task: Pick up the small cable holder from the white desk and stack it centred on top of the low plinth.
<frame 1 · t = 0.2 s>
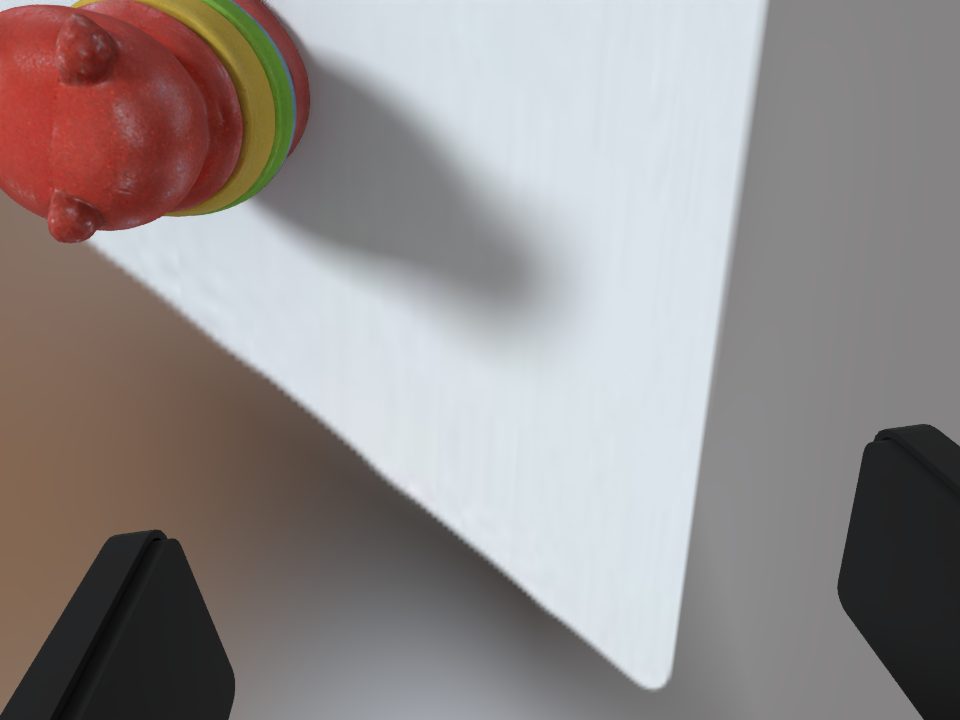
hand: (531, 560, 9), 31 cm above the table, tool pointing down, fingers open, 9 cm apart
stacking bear: (216, 85, 34), on the table
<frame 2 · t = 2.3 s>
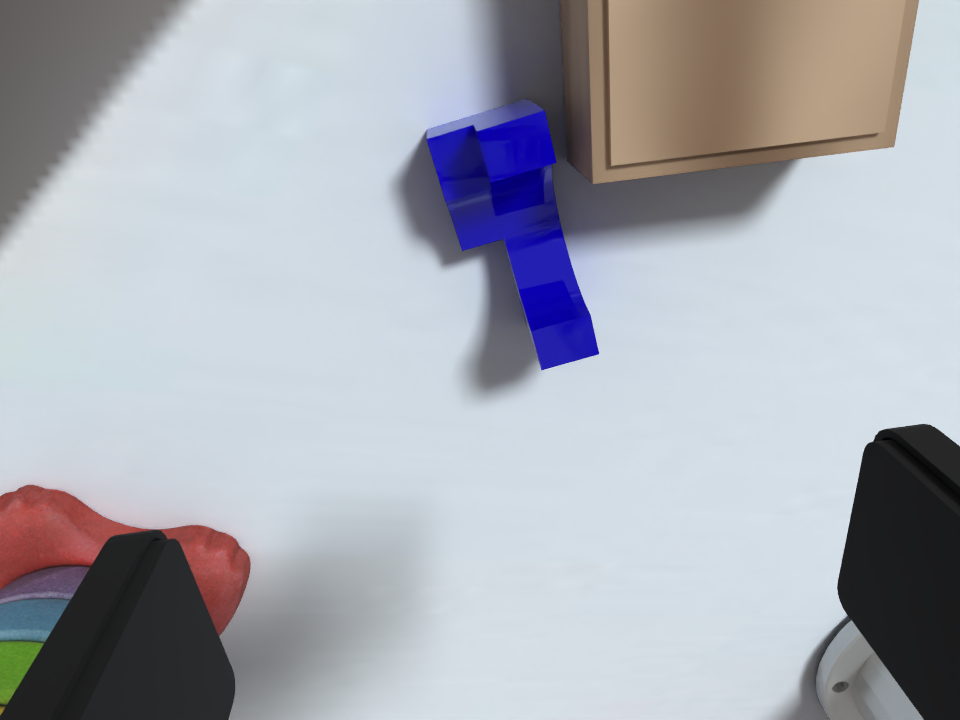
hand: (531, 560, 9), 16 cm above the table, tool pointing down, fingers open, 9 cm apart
cable holder: (505, 223, 24), on the table
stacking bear: (118, 585, 30), on the table
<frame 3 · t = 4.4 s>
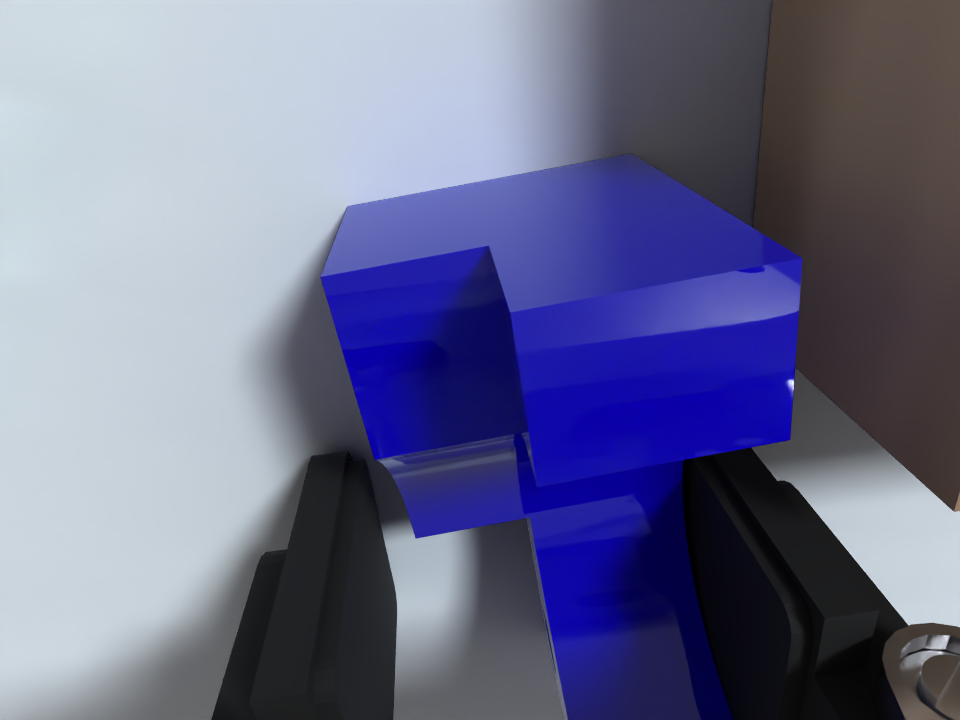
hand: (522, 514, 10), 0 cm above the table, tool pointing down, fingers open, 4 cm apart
cable holder: (529, 439, 10), on the table
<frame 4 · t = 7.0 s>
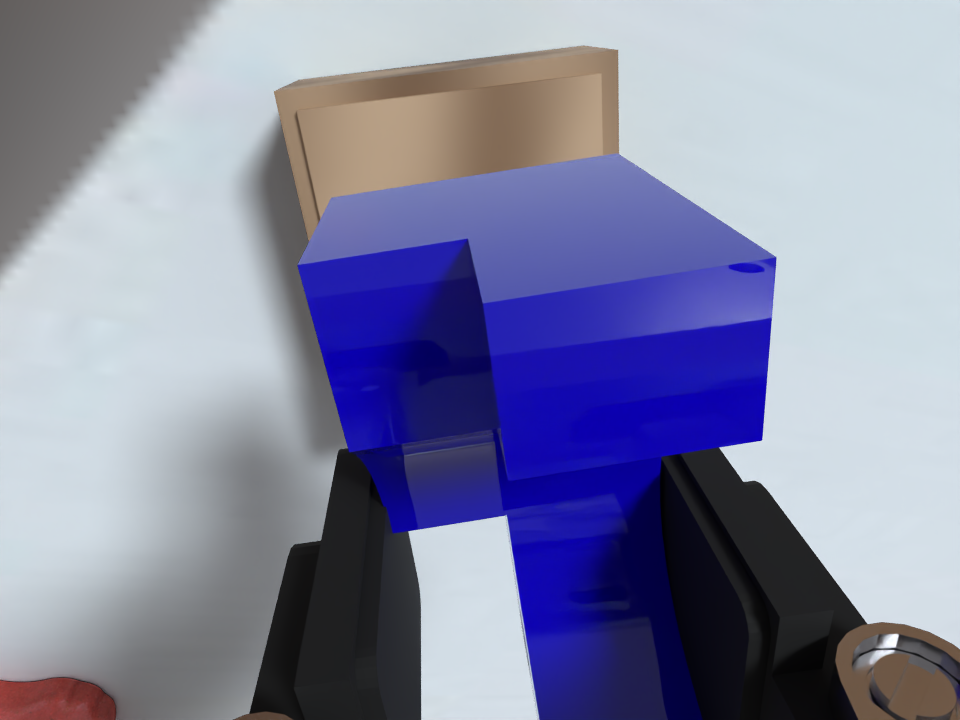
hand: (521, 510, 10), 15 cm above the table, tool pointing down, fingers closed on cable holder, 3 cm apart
cable holder: (509, 438, 10), point 14 cm above the table, touching gripper
plinth: (462, 233, 23), on the table
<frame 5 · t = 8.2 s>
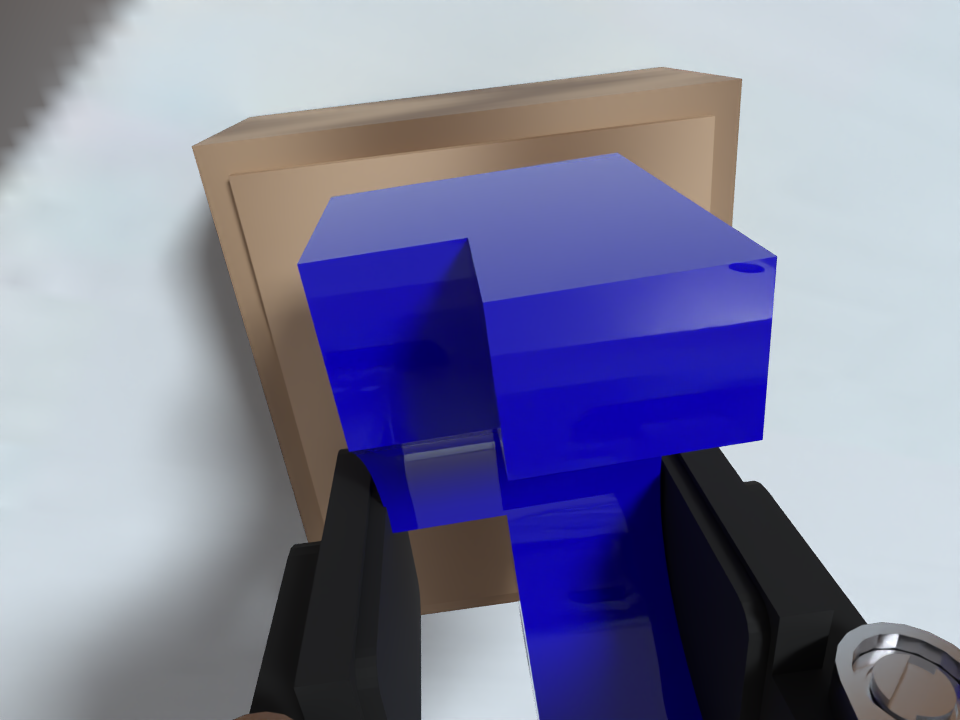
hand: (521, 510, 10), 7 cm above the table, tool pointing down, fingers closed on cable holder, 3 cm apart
cable holder: (509, 437, 10), point 7 cm above the table, touching gripper
plinth: (483, 323, 17), on the table
when the fingers open (5 cm above the table, at t = 9.3 s): cable holder stays where it is, resting on plinth.
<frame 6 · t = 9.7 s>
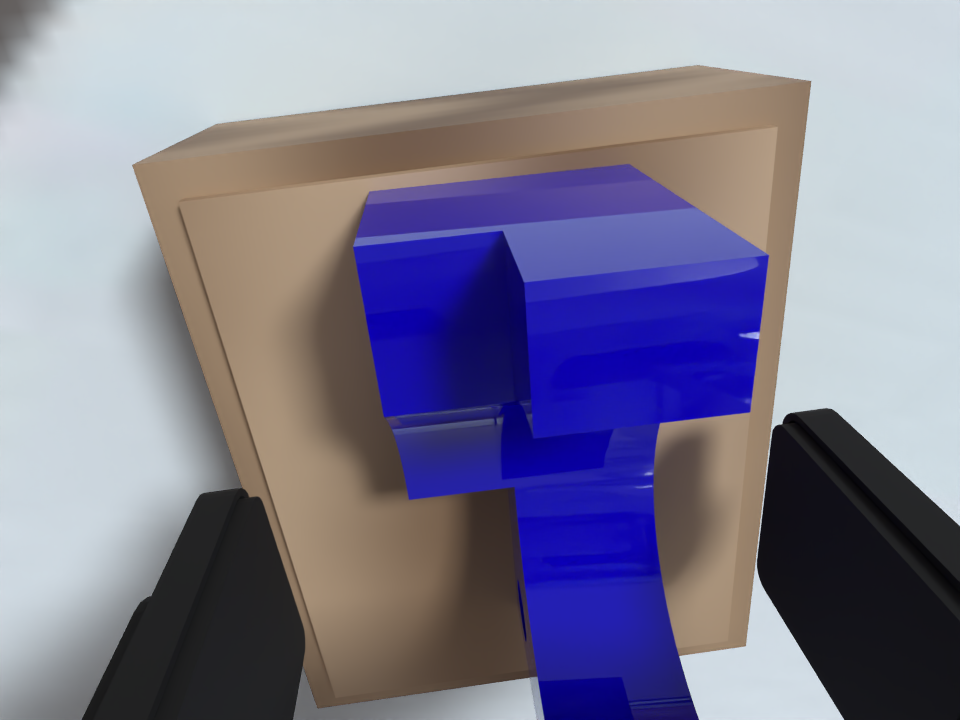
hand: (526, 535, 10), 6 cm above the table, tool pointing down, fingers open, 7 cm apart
cable holder: (516, 420, 11), point 4 cm above the table, touching plinth
plinth: (488, 356, 15), on the table
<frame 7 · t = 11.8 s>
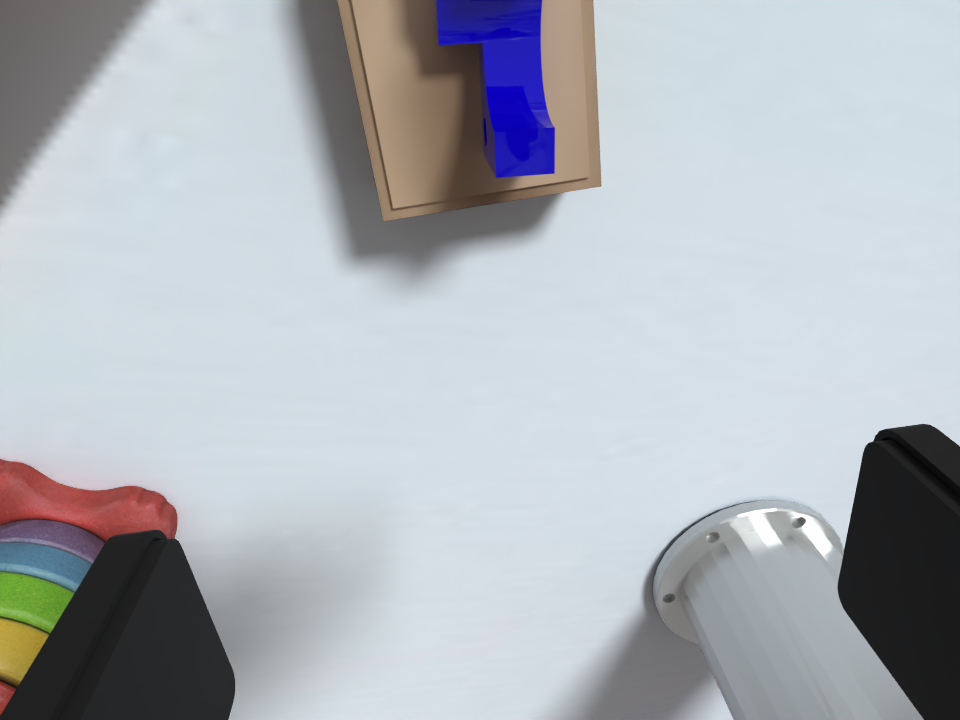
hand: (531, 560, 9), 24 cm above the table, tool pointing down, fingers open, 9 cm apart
cable holder: (484, 40, 24), point 4 cm above the table, touching plinth
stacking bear: (73, 537, 38), on the table
plinth: (465, 50, 28), on the table
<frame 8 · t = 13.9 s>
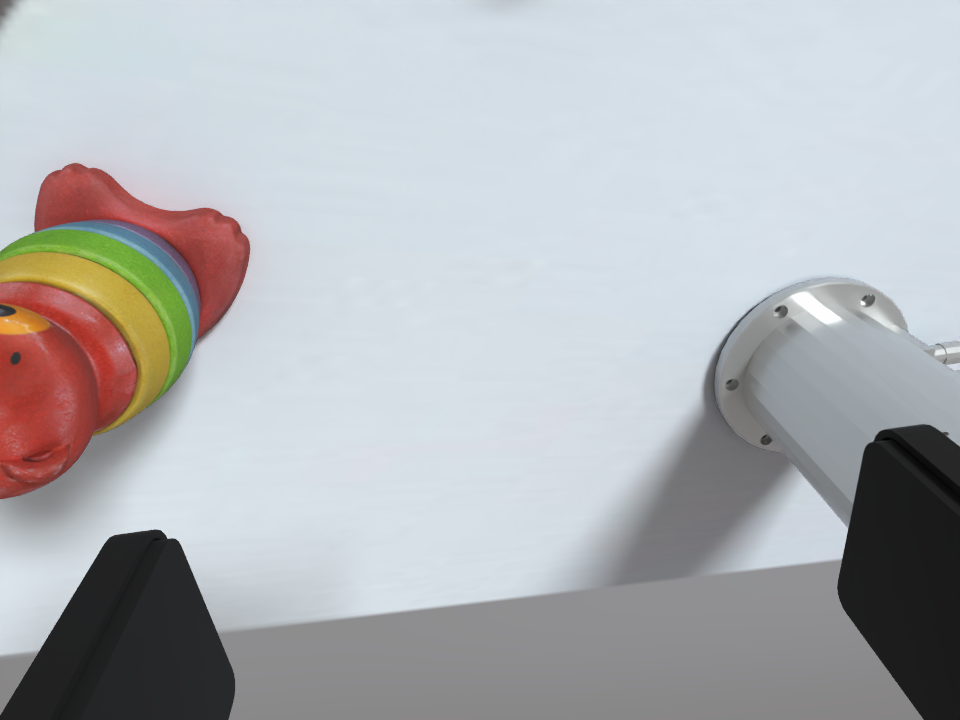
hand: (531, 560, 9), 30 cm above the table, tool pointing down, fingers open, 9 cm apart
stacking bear: (144, 270, 38), on the table
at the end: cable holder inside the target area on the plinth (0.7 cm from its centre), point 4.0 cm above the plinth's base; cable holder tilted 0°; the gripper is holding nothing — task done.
